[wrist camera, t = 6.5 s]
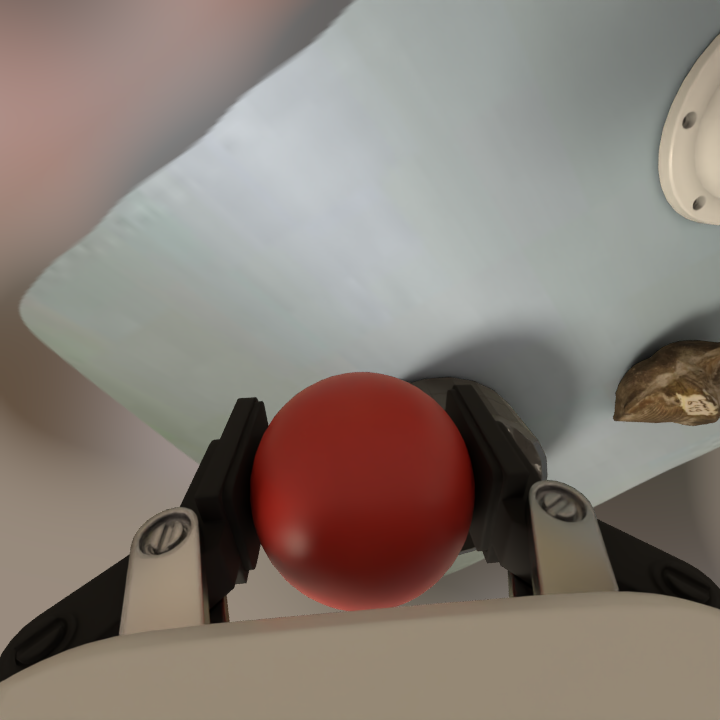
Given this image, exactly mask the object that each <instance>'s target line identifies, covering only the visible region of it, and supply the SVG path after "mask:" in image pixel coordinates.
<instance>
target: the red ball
mask: <svg viewBox="0 0 720 720" xmlns="http://www.w3.org/2000/svg"><path fill="white" fill-rule="evenodd" d="M474 502H475V482H474V473H473V468H472V463H471V459H470V456H469V453H468V450H467V447H466V444H465V442H464V440H463V438H462V436H461V434H460V432H459V430H458V428H457V427H456V425H455V423H454V422H453V421H452V419H451V418H450V417H449V415H448V414H447V413H446V411H445V410H444V409H443V408H442V407H441V406H440V405H439V404H438V403H437V402H436V401H435V400H434V399H433V398H431V397H430V396H429V395H427V394H426V393H424V392H423V391H422V390H420V389H419V388H417V387H416V386H414V385H412V384H410V383H408V382H406V381H403V380H400V379H398V378H395V377H392V376H388V375H384V374H379V373H370V372H354V373H345V374H340V375H336V376H332V377H329V378H326V379H324V380H321V381H319V382H317V383H315V384H313V385H311V386H309V387H307V388H305V389H304V390H303V391H301V392H300V393H298V394H297V395H295V396H294V397H293V398H292V399H291V400H290V401H289V402H288V403H286V404H285V405H284V406H283V407H282V409H281V410H280V411H279V412H278V413H277V414H276V416H275V417H274V418H273V420H272V421H271V423H270V425H269V426H268V428H267V429H266V431H265V433H264V434H263V437H262V439H261V441H260V444H259V446H258V449H257V452H256V454H255V458H254V462H253V467H252V472H251V477H250V504H251V511H252V517H253V523H254V526H255V529H256V532H257V535H258V537H259V540H260V543H261V545H262V547H263V549H264V551H265V552H266V554H267V556H268V558H269V559H270V561H271V563H272V564H273V565H274V567H275V568H276V569H277V570H278V571H279V572H280V574H281V575H282V576H283V577H284V578H285V580H286V581H288V582H289V583H290V584H291V585H292V586H294V587H295V588H296V589H297V590H299V591H300V592H301V593H303V594H304V595H306V596H308V597H309V598H311V599H313V600H315V601H317V602H319V603H322V604H324V605H326V606H329V607H332V608H336V609H340V610H346V611H357V610H368V609H380V608H391V607H396V606H399V605H402V604H404V603H406V602H409V601H411V600H413V599H414V598H416V597H418V596H419V595H421V594H422V593H424V592H425V591H426V590H428V589H429V588H431V587H432V586H433V585H434V584H435V583H437V582H438V581H439V580H440V578H441V577H442V576H443V575H444V574H445V573H446V572H447V570H448V569H449V568H450V567H451V566H452V564H453V563H454V561H455V560H456V558H457V556H458V554H459V553H460V551H461V549H462V547H463V545H464V543H465V541H466V538H467V535H468V532H469V529H470V525H471V522H472V517H473V510H474Z"/></svg>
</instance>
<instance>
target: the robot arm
mask: <svg viewBox="0 0 720 720" xmlns="http://www.w3.org/2000/svg"><path fill="white" fill-rule="evenodd" d="M658 171H659V177H660V183H661V187H662V190H663V192H664V195H665V197H666V199H667V201H668V202H669V204H670V205H671V206H672V207H673V209H674V210H675V211H676V212H677V213H679V214H680V215H682V216H683V217H685V218H686V219H689V220H692V221H695V222H698V223H705V224H713V225H720V34H719V35H718V36H717V37H716V38H715V39H714V40H713V41H712V43H711V44H710V45H709V46H708V47H707V49H706V50H705V51H704V52H703V53H702V55H701V56H700V57H699V58H698V60H697V61H696V63H695V64H694V66H693V67H692V69H691V70H690V72H689V73H688V75H687V76H686V78H685V80H684V81H683V83H682V85H681V87H680V89H679V91H678V93H677V95H676V97H675V99H674V101H673V103H672V105H671V108H670V110H669V113H668V116H667V119H666V122H665V125H664V128H663V132H662V137H661V142H660V147H659V164H658ZM445 411H446V413H447V414H448V415H449V417H450V418H451V419H452V421H453V422H454V423H455V425H456V427H457V428H458V430H459V432H460V434H461V436H462V438H463V440H464V442H465V444H466V447H467V450H468V453H469V456H470V459H471V463H472V468H473V473H474V482H475V502H474V510H473V517H472V522H471V525H470V529H469V532H470V535H471V538H472V540H473V543H474V546H475V548H476V550H477V551H483V554H484V556H485V559H486V562H487V563H496V562H499V563H500V565H501V566H502V567H504V568H505V569H507V570H508V586H509V598H499V599H487V600H475V601H463V602H450V603H438V604H428V605H427V604H426V605H415V606H403V607H391V608H380V609H368V610H357V611H346V612H335V613H323V614H312V615H301V616H291V617H279V618H269V619H258V620H247V621H237V622H229V613H228V604H227V596H226V595H227V594H228V593H229V592H230V591H231V590H232V589H234V587H235V584H243V583H246V582H247V578H248V573H249V570H254V569H255V567H256V564H257V559H258V555H259V550H260V545H261V543H260V540H259V537H258V535H257V532H256V529H255V526H254V523H253V517H252V511H251V504H250V477H251V472H252V467H253V462H254V458H255V454H256V452H257V449H258V446H259V444H260V441H261V439H262V437H263V434H264V433H265V431H266V429H267V428H268V421H267V416H266V411H265V406H264V403H263V401H259V402H258V399H257V398H256V397H253V398H239V399H238V400H237V402H236V404H235V407H234V409H233V411H232V413H231V415H230V418H229V420H228V422H227V424H226V427H225V429H224V431H223V433H222V436H221V438H220V439H218V440H213V441H212V442H211V443H210V445H209V447H208V449H207V451H206V453H205V455H204V457H203V459H202V461H201V463H200V466H199V468H198V470H197V472H196V474H195V476H194V478H193V480H192V483H191V484H190V487H189V489H188V491H187V493H186V495H185V497H184V499H183V501H182V504H181V505H180V507H175V508H171V509H167V510H165V511H162V512H160V513H158V514H156V515H155V516H153V517H152V518H150V519H149V520H147V521H146V522H145V523H144V524H143V525H142V526H141V527H140V528H139V530H138V531H137V533H136V534H135V536H134V538H133V541H132V544H131V549H130V554H129V555H128V556H127V557H125V558H124V559H122V560H121V561H119V562H118V563H116V564H115V565H113V566H112V567H110V568H109V569H107V570H106V571H104V572H103V573H101V574H100V575H99V576H97V577H95V578H94V579H92V580H91V581H89V582H88V583H86V584H85V585H84V586H82V587H81V588H79V589H78V590H76V591H75V592H73V593H72V594H70V595H69V596H67V597H66V598H64V599H63V600H61V601H60V602H58V603H57V604H55V605H54V606H52V607H51V608H49V609H48V610H46V611H45V612H44V613H42V614H40V615H39V616H37V617H36V618H35V619H33V620H32V621H31V622H30V623H28V624H27V625H26V626H25V627H23V628H22V629H21V631H19V633H18V634H17V635H16V636H15V637H14V638H13V639H12V640H11V641H10V643H9V644H8V646H7V647H6V648H5V650H4V651H3V653H2V654H1V657H0V720H720V589H719V588H718V586H717V585H716V584H715V583H714V582H713V581H712V580H711V579H710V578H709V577H707V576H706V575H704V573H702V572H701V571H700V570H698V569H697V568H695V567H693V566H692V565H690V564H688V563H686V562H685V561H682V560H680V559H678V558H676V557H674V556H672V555H670V554H668V553H666V552H664V551H662V550H660V549H658V548H656V547H654V546H652V545H649V544H648V543H645V542H643V541H641V540H639V539H637V538H635V537H633V536H631V535H629V534H627V533H625V532H623V531H621V530H619V529H617V528H614V527H613V526H611V525H608V524H606V523H604V522H602V521H600V520H598V519H597V518H596V515H595V512H594V509H593V507H592V505H591V503H590V501H589V500H588V499H587V498H586V497H585V496H584V495H583V494H582V493H580V492H579V491H578V490H576V489H575V488H573V487H571V486H569V485H567V484H565V483H562V482H558V481H553V480H543V481H542V480H541V478H540V477H539V475H538V474H537V472H536V471H535V470H534V468H533V467H532V465H531V464H530V462H529V461H528V459H527V458H526V456H525V455H524V453H523V452H522V450H521V449H520V448H519V446H518V445H517V443H516V442H515V440H514V439H513V437H512V436H511V434H510V433H509V431H508V430H507V428H506V427H505V426H504V424H503V423H502V422H500V421H495V419H494V418H493V416H492V415H491V413H490V412H489V410H488V409H487V407H486V406H485V404H484V403H483V401H482V400H481V398H480V397H479V395H478V394H477V392H476V390H475V389H474V387H473V386H472V385H471V384H461V385H453V387H452V389H449V390H448V391H447V396H446V406H445Z"/></svg>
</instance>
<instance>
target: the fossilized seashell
mask: <svg viewBox="0 0 720 720" xmlns="http://www.w3.org/2000/svg"><path fill="white" fill-rule="evenodd" d="M615 394H616V401H615V412H614V416H613V419H614V421H626V422H649V423H661V422H674V423H679V424H682V425H689V426H690V425H692V426H697V425H702V424H708V423H714V422H716V421H717V420H718V419H719V418H720V342H709V341H700V340H687V341H678V342H675V343H671V344H669V345H667V346H664V347H662V348H661V349H660V350H659V351H657V352H656V353H655V354H654V355H653V356H652V357H651V358H649V359H646V360H643V361H641V362H639V363H637V364H636V365H634V366H633V367H632V368H631V369H630V370H629V371H628V372H627V373H626V374H625V376H624V377H623V378H622V380H621V382H620V383H619V385H618V389H617V391H616V393H615Z"/></svg>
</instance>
